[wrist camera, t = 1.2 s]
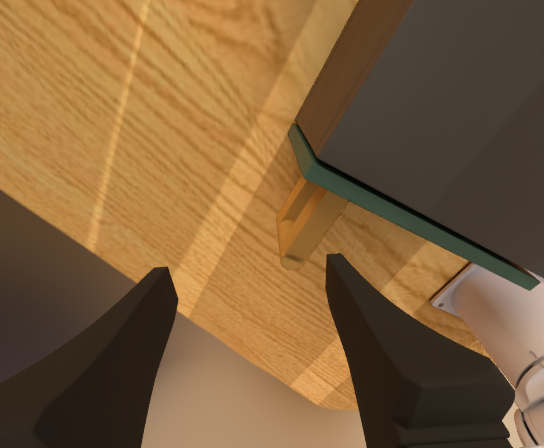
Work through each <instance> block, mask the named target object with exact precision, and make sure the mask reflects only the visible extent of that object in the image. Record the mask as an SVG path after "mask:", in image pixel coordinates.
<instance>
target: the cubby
mask: <svg viewBox="0 0 544 448" xmlns="http://www.w3.org/2000/svg"><path fill="white" fill-rule="evenodd" d="M295 120H296V122H297V123H298V125H299V126H300V128H301V130H302V132H303V133H304V135H305V137H306V139H307V140H308V142H309V144H310V146H311V148H312V149H313V151H314V153H315V155H316V157H317V158H318V159H319V160H321V161H323V162H325V163H327V164H329V165H330V166H332V167H334V168H336V169H338V170H340V171H342V172H344V173H346V174H347V175H349V176H351V177H353V178H355V179H357V180H359V181H361V182H363V183H364V184H366V185H368V186H370V187H372V188H374V189H376V190H378V191H379V192H381V193H383V194H385V195H387V196H389V197H391V198H393V199H395V200H396V201H398V202H400V203H402V204H404V205H406V206H408V207H410V208H412V209H413V210H415V211H417V212H419V213H421V214H423V215H425V216H427V217H428V218H430V219H432V220H434V221H436V222H438V223H440V224H442V225H444V226H445V227H447V228H449V229H451V230H453V231H455V232H457V233H459V234H461V235H462V236H464V237H466V238H468V239H470V240H472V241H474V242H476V243H477V244H479V245H481V246H483V247H485V248H487V249H489V250H491V251H493V252H494V253H496V254H498V255H500V256H502V257H504V258H506V259H508V260H510V261H511V262H513V263H515V264H517V265H519V266H521V267H523V268H525V269H526V270H528V271H530V272H532V273H534V274H536V275H538V276H540V277H542V278H543V279H544V0H359V1H358V3H357V5H356V7H355V9H354V11H353V12H352V14H351V16H350V18H349V20H348V22H347V23H346V25H345V27H344V29H343V31H342V33H341V35H340V36H339V38H338V40H337V42H336V44H335V46H334V48H333V49H332V51H331V53H330V55H329V57H328V59H327V61H326V62H325V64H324V66H323V68H322V70H321V72H320V74H319V75H318V77H317V79H316V81H315V83H314V85H313V86H312V88H311V90H310V92H309V94H308V96H307V98H306V99H305V101H304V103H303V105H302V107H301V109H300V111H299V112H298V114H297V116H296V118H295Z"/></svg>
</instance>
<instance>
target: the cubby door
mask: <svg viewBox="0 0 544 448" xmlns="http://www.w3.org/2000/svg"><path fill="white" fill-rule="evenodd" d="M288 136H289V139H290V141H291V144H292V147H293V150H294V152H295V155H296V158H297V161H298V163H299V166H300V169H301V172H302V176H301V178H300V179H299V181H298V182H297V184H296V186H295V187H294V189H293V191H292V192H291V194H290V196H289V197H288V199H287V201H286V202H285V204H284V206H283V207H282V209H281V210H280V212H279V214H278V215H277V218H276V221H277V230H278V240H279V249H280V259H281V264H282V266H283V267H284V268H285V269H288V270H297V269H299V268H301V267H302V266H303V264H304V263H305V262H306V260H307V259H308V258H309V256H310V255H311V253H312V252H313V251H314V249H315V248H316V247H317V245H318V244H319V242H320V241H321V240H322V238H323V237H324V236H325V234H326V233H327V232H328V230H329V229H330V227H331V226H332V225H333V223H334V222H335V221H336V219H337V218H338V216H339V215H340V214H341V212H342V211H343V210H344V208H345V207H346V205H347V204H348V203H349V201H350V202H352V203H354V204H356V205H358V206H360V207H362V208H364V209H366V210H368V211H370V212H372V213H374V214H376V215H378V216H380V217H382V218H384V219H386V220H388V221H390V222H392V223H394V224H396V225H398V226H400V227H402V228H404V229H406V230H408V231H410V232H412V233H414V234H416V235H418V236H420V237H422V238H424V239H426V240H428V241H430V242H432V243H434V244H436V245H438V246H440V247H442V248H444V249H446V250H448V251H450V252H452V253H454V254H456V255H458V256H460V257H462V258H464V259H466V260H468V261H470V262H472V263H474V264H476V265H478V266H480V267H482V268H484V269H486V270H488V271H490V272H492V273H494V274H496V275H498V276H500V277H502V278H504V279H506V280H508V281H510V282H512V283H514V284H516V285H518V286H520V287H522V288H524V289H526V290H528V291H531V290H532V289H533V288H535V287H536V286H537V285H538V284H540V283H541V281H539V280H538V279H537V278H536V277H534V276H533V275H532V274H531V273H529V272H528V271H527V270H526V269H524V268H523V267H521V266H519V265H517V264H515V263H513V262H511V261H510V260H508V259H506V258H504V257H502V256H500V255H498V254H496V253H494V252H493V251H491V250H489V249H487V248H485V247H483V246H481V245H479V244H477V243H476V242H474V241H472V240H470V239H468V238H466V237H464V236H462V235H461V234H459V233H457V232H455V231H453V230H451V229H449V228H447V227H445V226H444V225H442V224H440V223H438V222H436V221H434V220H432V219H430V218H428V217H427V216H425V215H423V214H421V213H419V212H417V211H415V210H413V209H412V208H410V207H408V206H406V205H404V204H402V203H400V202H398V201H396V200H395V199H393V198H391V197H389V196H387V195H385V194H383V193H381V192H379V191H378V190H376V189H374V188H372V187H370V186H368V185H366V184H364V183H363V182H361V181H359V180H357V179H355V178H353V177H351V176H349V175H347V174H346V173H344V172H342V171H340V170H338V169H336V168H334V167H332V166H330V165H329V164H327V163H325V162H323V161H321V160H319V159H318V158H317V157H316V155H315V153H314V151H313V149H312V148H311V146H310V144H309V142H308V140H307V139H306V137H305V135H304V133H303V132H302V130H301V128H300V127H299V126H297V125H296V124H294V123H293V124H292V126H291V128H290V130H289V132H288Z"/></svg>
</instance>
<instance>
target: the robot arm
mask: <svg viewBox="0 0 544 448" xmlns="http://www.w3.org/2000/svg"><path fill="white" fill-rule="evenodd" d="M524 269H525V268H524ZM527 271H528V270H527ZM528 272H529V273H531V274H532V275H533V276H534V277H536V278H537V279H538V280H539V281H541V283H540V284H538V285H537V286H536V287H535V288H533V289H532V290H531V291H528V290H526V289H524V288H522V287H520V286H518V285H516V284H514V283H512V282H510V281H508V280H506V279H504V278H502V277H500V276H498V275H496V274H494V273H492V272H490V271H488V270H486V269H484V268H482V267H480V266H478V265H476V264H474V263H471V264H470V265H468V266H467V267H466V268H465V269H464V270H463V271H462V272H461V273H460V274H459V275H458V276H456V277H455V278H454V279H453V280H452V281H451V282H450V283H449V284H448V285H447V286H446V287H445V288H443V289H442V290H441V291H440V292H439V293H438V294H437V295H436V296H435V297H434V298H433V299H432V300H431V301H430V303H431V304H432V306H434V307H436V308H438V309H441V310H443V311H446V312H448V313H450V314H453V315H455V316H458V317H460V318H461V319H462V320H463V322H464V323H465V324H466V325H467V327H468V328H469V329H470V331H471V332H472V333H473V335H474V336H475V337H476V338H477V340H478V341H479V342H480V344H481V345H482V346H483V348H484V349H485V350H486V351H487V353H488V354H489V355H490V357H491V358H492V359H493V361H494V362H495V363H496V364H497V366H498V367H499V368H500V370H501V371H502V372H503V374H504V375H505V376H506V377H507V379H508V380H509V381H510V383H511V384H512V385H513V387H514V388H515V389H516V390H514V389H513V388H512V386H511V385H510V384H509V382H508V381H507V380H506V378H505V377H504V375H503V374H502V373H501V372H500V370H499V369H498V368H497V366H496V365H495V364H494V363H493V362H492V361H491V360H490V358H488V357H486V356H483V355H481V354H479V353H477V352H475V351H473V350H471V349H468V348H466V347H464V346H462V345H460V344H458V343H456V342H454V341H452V340H450V339H448V338H447V337H445V336H443V335H441V334H439V333H437V332H436V331H434V330H432V329H430V328H429V327H427V326H425V325H424V324H422V323H421V322H419V321H417V320H416V319H414V318H413V317H411V316H410V315H408V314H407V313H405V312H404V311H403V310H401V309H400V308H398V307H397V306H396V305H394V304H393V303H392V302H390V301H389V300H388V299H387V298H386V297H384V296H383V295H382V294H381V293H380V292H379V291H377V290H376V289H375V288H374V287H373V286H372V285H371V284H370V283H369V282H368V281H367V280H366V279H365V278H364V277H363V276H362V275H361V274H360V273H359V272H358V271H357V270H356V269H355V268H354V267H353V266H352V265H351V264H350V263H349V262H348V261H347V260H346V259H345V257H344V256H343V255H342V254H341V253H337V254H327V262H326V293H327V298H328V303H329V307H330V311H331V314H332V316H333V319H334V322H335V325H336V328H337V331H338V334H339V337H340V340H341V343H342V346H343V349H344V351H345V355H346V358H347V361H348V365H349V369H350V373H351V377H352V382H353V386H354V390H355V395H356V399H357V403H358V408H359V412H360V417H361V422H362V426H363V431H364V436H365V441H366V446H367V448H513V447H512V446H511V444H510V443H509V441H508V439H507V438H509V437H510V434H509V431H508V430H507V428H506V427H505V425H504V424H503V422H502V419H503V418H504V416H505V415H506V413H507V412H508V411H509V409H510V408H511V406H512V404H513V402H515V403H516V405H517V406H518V407H519V409H517V410H516V411H515V413H514V420H515V424H516V428H517V432H518V435H519V437H520V440H521V442H522V444H523V446H524V447H521V448H544V279H543V278H542V277H540V276H538V275H536V274H534V273H532V272H530V271H528ZM177 305H178V297H177V294H176V290H175V287H174V284H173V281H172V278H171V275H170V272H169V269H168V267H157V268H153V269H152V270H151V271H150V272H149V273H148V274H147V275H146V276H145V277H144V278H143V279H142V280H141V281H140V282H139V283H138V284H137V285H136V286H135V287H134V288H132V289H131V290H130V291H129V292H128V293H127V294H126V295H125V296H124V297H123V298H122V299H121V300H120V301H119V302H118V303H116V304H115V305H114V306H113V307H112V308H111V309H110V310H108V311H107V312H106V313H105V314H104V315H103V316H102V317H100V318H99V319H98V320H97V321H95V322H94V323H93V324H92V325H90V326H89V327H88V328H86V329H85V330H84V331H82V332H81V333H80V334H79V335H77V336H76V337H74V338H73V339H72V340H70V341H69V342H67V343H66V344H64V345H63V346H61V347H60V348H58V349H57V350H55V351H54V352H52V353H51V354H49V355H48V356H46V357H44V358H43V359H41V360H39V361H38V362H36V363H35V364H33V365H31V366H30V367H28V368H26V369H25V370H23V371H21V372H19V373H17V374H16V375H14V376H12V377H10V378H9V379H7V380H5V381H3V382H1V383H0V448H141V444H142V438H143V433H144V428H145V423H146V418H147V413H148V408H149V403H150V399H151V395H152V390H153V386H154V382H155V378H156V374H157V371H158V368H159V364H160V361H161V358H162V356H163V353H164V350H165V347H166V344H167V341H168V338H169V335H170V332H171V329H172V326H173V323H174V320H175V315H176V310H177Z"/></svg>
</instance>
